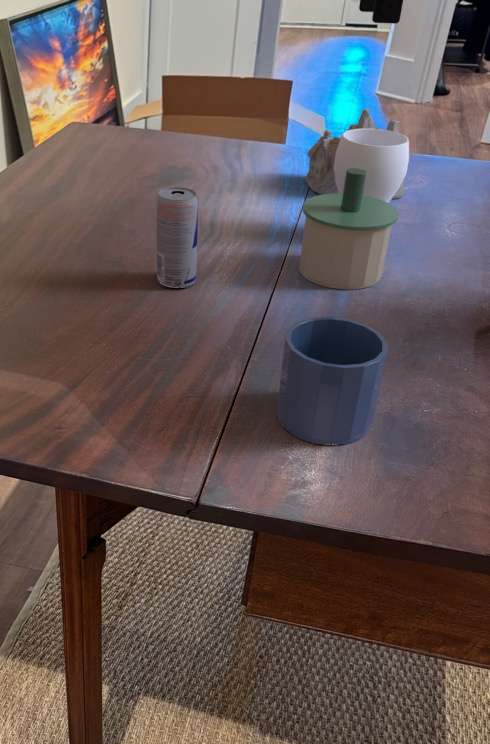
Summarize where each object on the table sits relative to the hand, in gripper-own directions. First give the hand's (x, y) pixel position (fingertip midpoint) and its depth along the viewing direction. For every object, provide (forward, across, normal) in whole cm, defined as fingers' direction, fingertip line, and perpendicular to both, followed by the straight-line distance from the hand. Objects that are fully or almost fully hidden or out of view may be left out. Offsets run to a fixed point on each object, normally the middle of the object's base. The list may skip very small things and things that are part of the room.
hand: (377, 17), depth 89 cm
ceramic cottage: (+31, +29, -6) cm, 43 cm away
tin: (+30, -8, +1) cm, 31 cm away
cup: (+31, +5, -3) cm, 31 cm away
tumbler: (+30, -44, +8) cm, 54 cm away
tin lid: (+22, -8, +1) cm, 23 cm away
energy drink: (+31, -13, +24) cm, 41 cm away
